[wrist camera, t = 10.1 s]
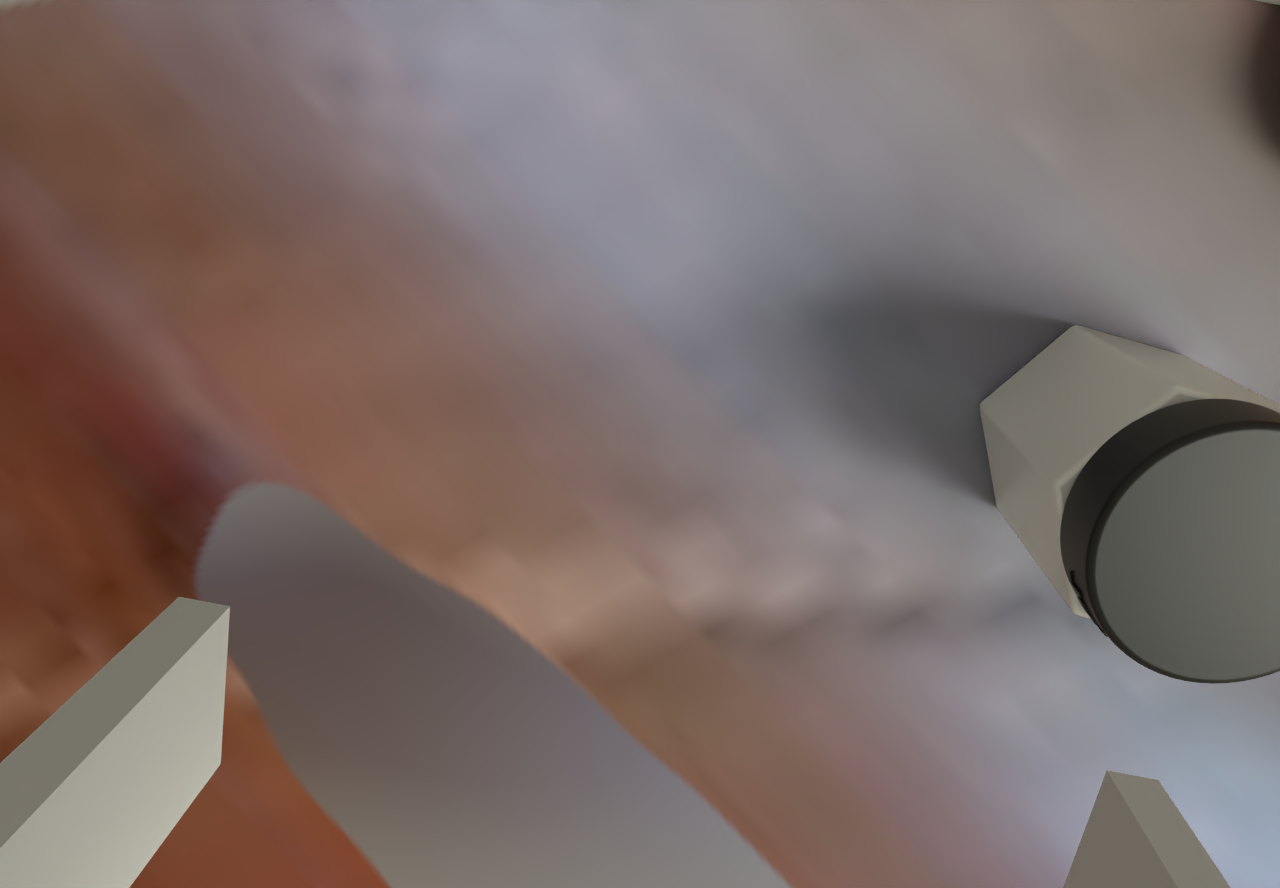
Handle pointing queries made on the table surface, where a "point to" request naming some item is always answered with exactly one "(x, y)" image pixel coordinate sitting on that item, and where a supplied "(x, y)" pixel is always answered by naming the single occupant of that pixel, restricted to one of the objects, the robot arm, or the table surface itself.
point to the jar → (1146, 500)
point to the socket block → (1270, 1)
